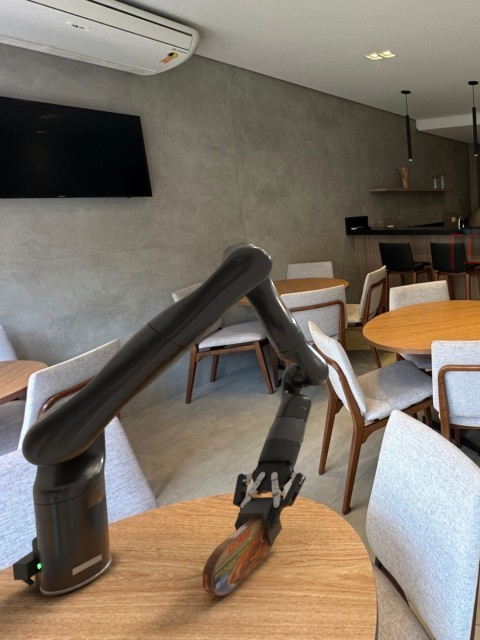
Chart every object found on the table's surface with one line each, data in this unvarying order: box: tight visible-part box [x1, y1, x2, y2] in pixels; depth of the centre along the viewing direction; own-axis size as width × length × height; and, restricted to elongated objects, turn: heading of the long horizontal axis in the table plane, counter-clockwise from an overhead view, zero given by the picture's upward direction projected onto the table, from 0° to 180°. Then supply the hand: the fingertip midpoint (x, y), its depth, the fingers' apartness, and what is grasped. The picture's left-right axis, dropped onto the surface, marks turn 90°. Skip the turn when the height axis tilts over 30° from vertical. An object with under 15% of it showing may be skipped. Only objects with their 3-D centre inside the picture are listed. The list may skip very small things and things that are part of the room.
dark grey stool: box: [237, 496, 283, 546], centre depth 84 cm, size 5×4×8 cm
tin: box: [202, 516, 275, 597], centre depth 79 cm, size 15×3×8 cm, turn 169°
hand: (254, 530), depth 82 cm, fingers closed on dark grey stool, 5 cm apart
